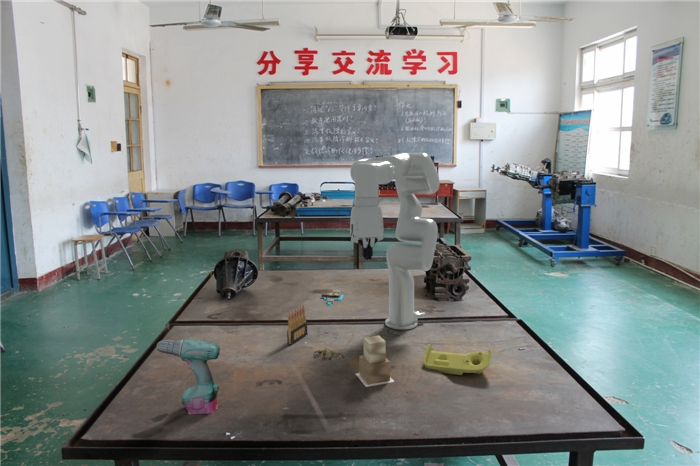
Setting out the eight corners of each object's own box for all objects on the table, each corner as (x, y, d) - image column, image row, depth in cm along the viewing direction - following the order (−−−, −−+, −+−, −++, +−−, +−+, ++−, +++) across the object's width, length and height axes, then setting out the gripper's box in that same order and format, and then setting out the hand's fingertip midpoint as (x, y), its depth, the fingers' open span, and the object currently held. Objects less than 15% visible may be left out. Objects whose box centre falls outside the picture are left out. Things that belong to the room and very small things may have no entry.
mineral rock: (308, 357, 169) (316, 342, 176) (309, 368, 171) (317, 352, 178) (340, 362, 166) (346, 346, 173) (340, 372, 168) (347, 356, 175)
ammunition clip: (291, 345, 184) (290, 312, 182) (287, 344, 185) (285, 312, 183) (307, 334, 194) (306, 303, 191) (303, 334, 195) (302, 303, 192)
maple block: (379, 354, 159) (379, 335, 157) (385, 360, 154) (385, 341, 153) (363, 356, 157) (363, 337, 156) (369, 363, 152) (369, 343, 151)
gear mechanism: (316, 305, 227) (337, 306, 225) (316, 294, 226) (337, 294, 224) (327, 292, 246) (346, 292, 245) (326, 281, 245) (346, 281, 244)
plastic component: (421, 364, 162) (429, 340, 169) (426, 380, 166) (433, 356, 173) (488, 372, 153) (493, 345, 160) (491, 388, 157) (496, 362, 165)
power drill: (166, 403, 146) (159, 335, 142) (225, 400, 147) (220, 332, 144) (159, 417, 139) (152, 346, 135) (221, 413, 140) (216, 343, 136)
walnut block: (381, 370, 161) (380, 352, 160) (390, 380, 154) (390, 361, 153) (359, 374, 159) (359, 355, 158) (367, 384, 152) (367, 365, 151)
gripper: (384, 199, 171) (384, 254, 175) (340, 202, 166) (341, 258, 170) (393, 202, 164) (393, 259, 168) (348, 205, 159) (349, 263, 163)
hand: (367, 258), depth 169 cm, fingers closed
